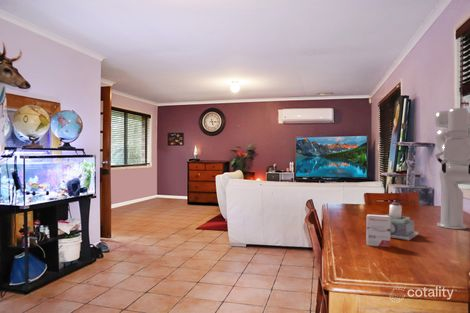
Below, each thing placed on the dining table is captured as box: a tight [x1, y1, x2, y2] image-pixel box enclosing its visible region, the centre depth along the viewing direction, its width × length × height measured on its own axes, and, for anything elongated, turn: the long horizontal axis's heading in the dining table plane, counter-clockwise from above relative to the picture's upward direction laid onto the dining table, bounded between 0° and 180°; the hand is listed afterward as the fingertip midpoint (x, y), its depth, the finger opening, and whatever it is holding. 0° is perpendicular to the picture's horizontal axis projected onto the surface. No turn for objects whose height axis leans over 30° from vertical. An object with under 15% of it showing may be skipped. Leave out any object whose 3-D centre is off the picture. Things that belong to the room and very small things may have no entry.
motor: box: [385, 214, 419, 241], centre depth 151 cm, size 16×16×8 cm
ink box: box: [365, 214, 392, 248], centre depth 132 cm, size 9×5×12 cm, turn 71°
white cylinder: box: [388, 202, 403, 219], centre depth 151 cm, size 5×5×8 cm
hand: (456, 173), depth 151 cm, fingers open, 9 cm apart
